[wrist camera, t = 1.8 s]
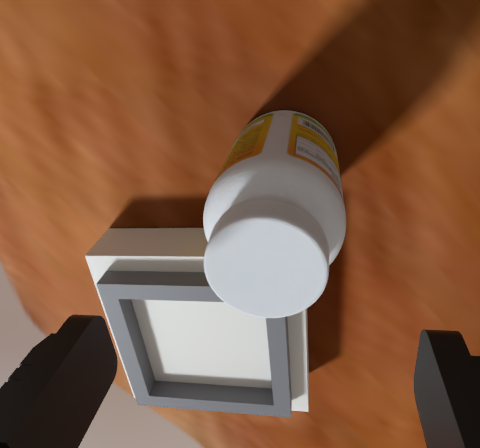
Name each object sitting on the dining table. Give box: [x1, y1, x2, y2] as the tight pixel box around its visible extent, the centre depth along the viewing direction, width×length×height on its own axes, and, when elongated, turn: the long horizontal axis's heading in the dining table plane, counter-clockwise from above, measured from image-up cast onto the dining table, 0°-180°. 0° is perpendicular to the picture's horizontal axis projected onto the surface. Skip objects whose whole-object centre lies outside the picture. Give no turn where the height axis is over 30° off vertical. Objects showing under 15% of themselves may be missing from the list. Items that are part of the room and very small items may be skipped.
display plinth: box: [85, 228, 309, 417], centre depth 25 cm, size 12×12×4 cm
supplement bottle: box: [203, 110, 346, 318], centre depth 17 cm, size 5×5×10 cm
